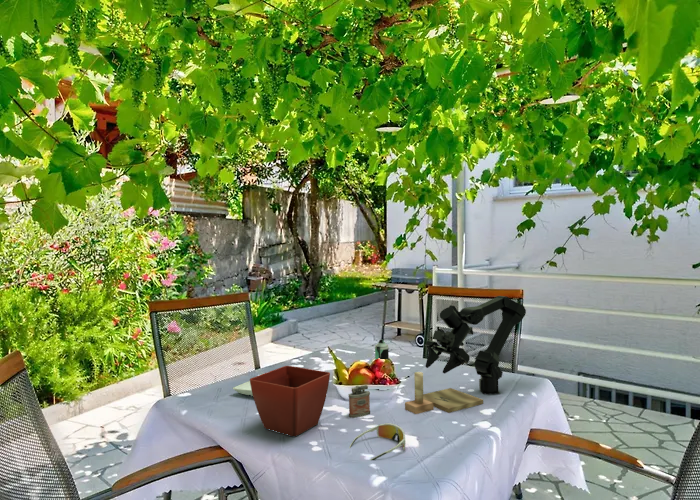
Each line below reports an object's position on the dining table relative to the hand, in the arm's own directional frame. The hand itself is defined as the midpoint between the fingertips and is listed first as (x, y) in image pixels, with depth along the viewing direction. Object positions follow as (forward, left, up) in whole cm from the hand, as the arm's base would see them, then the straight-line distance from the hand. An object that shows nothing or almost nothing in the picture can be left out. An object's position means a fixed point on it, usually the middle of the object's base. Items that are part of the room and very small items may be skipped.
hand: (434, 370), depth 175 cm
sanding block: (+6, +4, -13) cm, 15 cm away
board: (-6, -4, -13) cm, 15 cm away
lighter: (+27, +10, -13) cm, 32 cm away
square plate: (+60, -16, -13) cm, 64 cm away
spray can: (+19, -20, -13) cm, 31 cm away
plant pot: (+49, +21, -13) cm, 55 cm away
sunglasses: (+20, +36, -13) cm, 43 cm away
